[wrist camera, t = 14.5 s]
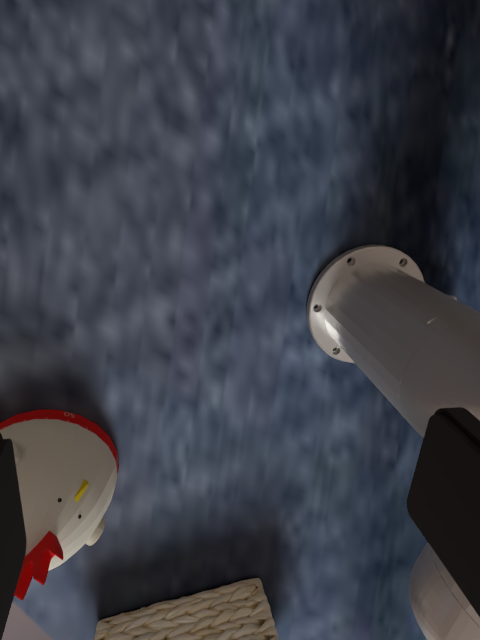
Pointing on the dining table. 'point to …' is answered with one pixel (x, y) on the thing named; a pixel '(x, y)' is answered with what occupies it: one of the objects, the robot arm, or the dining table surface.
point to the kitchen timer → (59, 486)
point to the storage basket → (198, 617)
